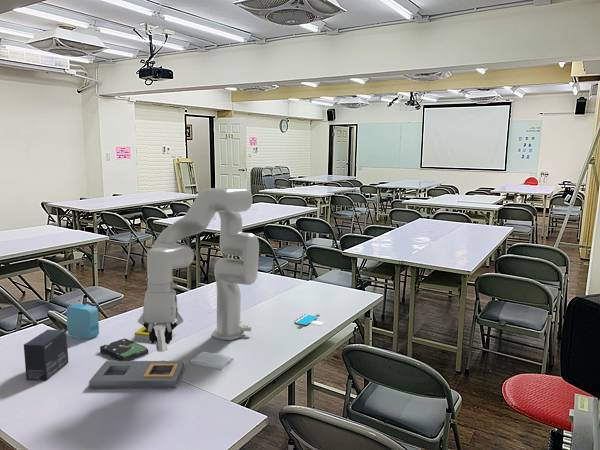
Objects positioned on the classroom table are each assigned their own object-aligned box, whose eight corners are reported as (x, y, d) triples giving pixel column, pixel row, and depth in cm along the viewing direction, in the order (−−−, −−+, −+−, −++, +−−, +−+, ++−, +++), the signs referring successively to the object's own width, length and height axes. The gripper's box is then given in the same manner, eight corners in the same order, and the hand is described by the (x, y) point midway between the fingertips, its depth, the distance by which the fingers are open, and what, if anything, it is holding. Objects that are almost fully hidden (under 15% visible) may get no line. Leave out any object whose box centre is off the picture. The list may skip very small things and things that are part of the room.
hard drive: (190, 360, 156) (221, 366, 152) (203, 351, 163) (233, 356, 159) (190, 364, 156) (221, 370, 152) (203, 355, 164) (233, 361, 159)
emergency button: (142, 321, 183) (176, 324, 181) (142, 331, 184) (176, 335, 181) (129, 329, 174) (165, 333, 172) (130, 340, 175) (165, 344, 172)
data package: (99, 336, 177) (98, 306, 176) (90, 340, 173) (89, 310, 171) (76, 331, 181) (75, 302, 180) (67, 335, 177) (65, 306, 176)
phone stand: (312, 332, 188) (312, 328, 188) (287, 327, 194) (287, 323, 194) (331, 318, 206) (331, 315, 206) (308, 314, 211) (308, 310, 211)
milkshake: (153, 347, 145) (151, 318, 144) (170, 346, 146) (168, 317, 144) (150, 353, 141) (148, 323, 140) (167, 352, 141) (165, 322, 140)
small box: (49, 362, 154) (47, 328, 152) (69, 362, 154) (67, 329, 152) (25, 380, 141) (22, 344, 139) (46, 381, 140) (44, 344, 139)
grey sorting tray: (184, 367, 152) (184, 360, 152) (175, 388, 138) (175, 380, 138) (106, 368, 150) (106, 360, 150) (89, 388, 136) (89, 380, 136)
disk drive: (99, 353, 163) (124, 364, 154) (99, 346, 162) (123, 356, 154) (124, 344, 171) (149, 354, 163) (124, 337, 171) (149, 347, 162)
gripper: (189, 284, 145) (189, 338, 147) (136, 283, 144) (137, 337, 146) (184, 290, 137) (185, 347, 140) (129, 290, 136) (130, 347, 139)
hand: (160, 341), depth 143 cm, fingers closed on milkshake, 4 cm apart
